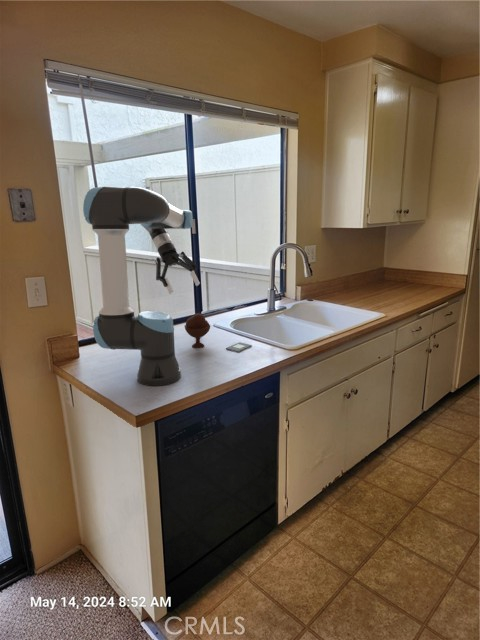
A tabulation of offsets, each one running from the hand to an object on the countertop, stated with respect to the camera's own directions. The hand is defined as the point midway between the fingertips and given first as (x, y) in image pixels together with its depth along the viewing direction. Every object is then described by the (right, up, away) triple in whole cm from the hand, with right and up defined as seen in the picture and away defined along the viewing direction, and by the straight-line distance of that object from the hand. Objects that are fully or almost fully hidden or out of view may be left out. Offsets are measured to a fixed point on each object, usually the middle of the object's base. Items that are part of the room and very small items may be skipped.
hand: (185, 288), depth 178 cm
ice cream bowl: (+6, -25, 0) cm, 26 cm away
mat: (+23, -26, -2) cm, 35 cm away
